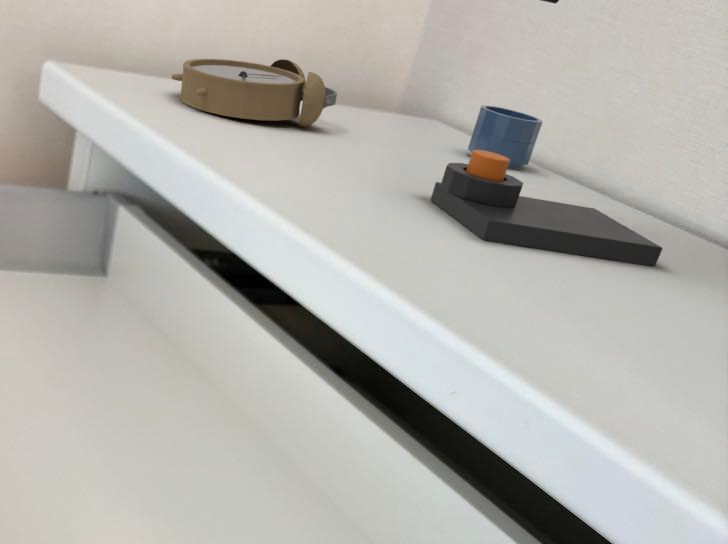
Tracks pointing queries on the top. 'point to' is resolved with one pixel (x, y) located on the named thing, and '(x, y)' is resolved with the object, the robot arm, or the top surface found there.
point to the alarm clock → (254, 90)
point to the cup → (505, 134)
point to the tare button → (488, 165)
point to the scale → (536, 219)
